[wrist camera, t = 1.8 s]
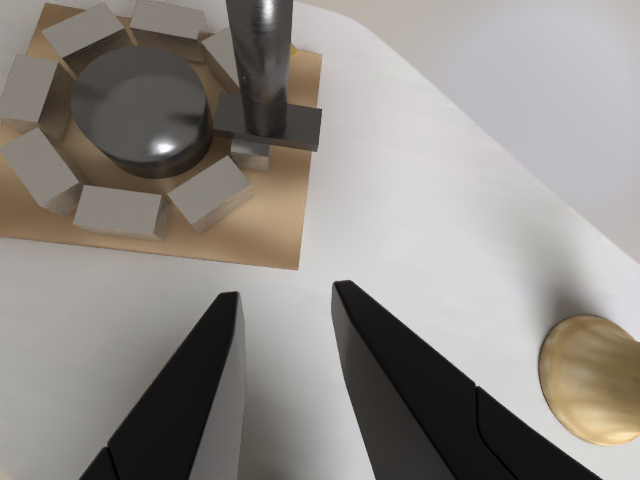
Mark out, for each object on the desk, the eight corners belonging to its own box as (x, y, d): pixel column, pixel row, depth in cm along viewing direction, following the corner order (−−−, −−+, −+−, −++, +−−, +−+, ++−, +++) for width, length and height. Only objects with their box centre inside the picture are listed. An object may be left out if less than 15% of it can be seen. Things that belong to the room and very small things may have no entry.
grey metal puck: (204, 186, 21) (192, 165, 18) (86, 170, 20) (54, 145, 17) (222, 91, 22) (214, 57, 19) (115, 73, 22) (89, 35, 19)
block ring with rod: (302, 258, 20) (334, 191, 9) (-9, 221, 18) (-423, 83, 7) (324, 58, 24) (366, -159, 13) (65, 10, 22) (-143, -292, 11)
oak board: (297, 270, 21) (298, 267, 20) (-24, 233, 19) (-45, 228, 18) (320, 62, 25) (323, 48, 24) (56, 13, 23) (43, -4, 22)
